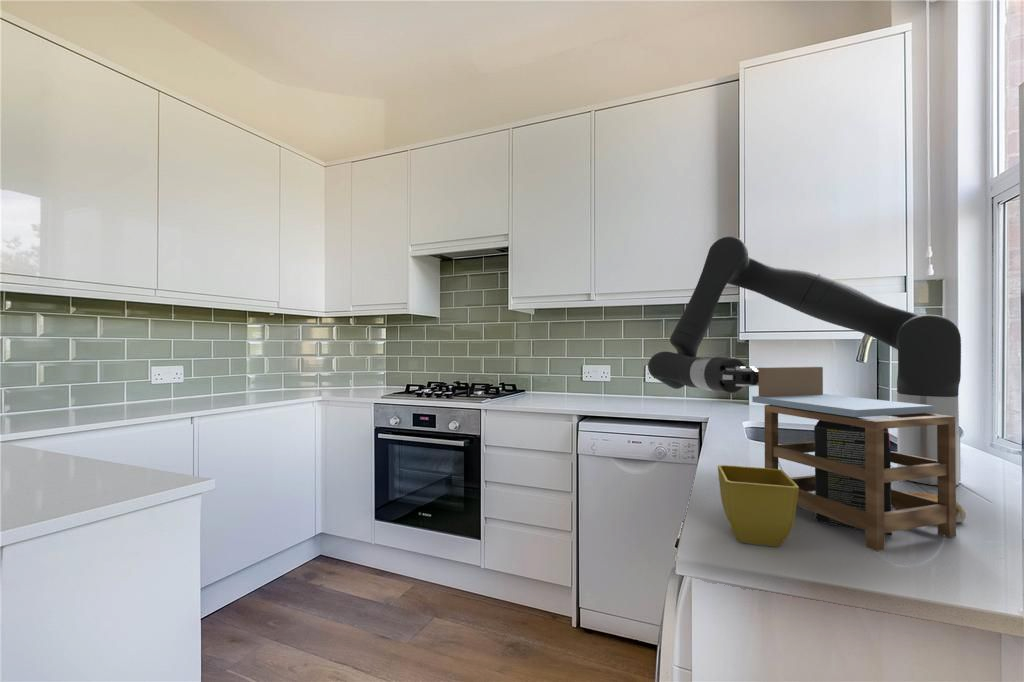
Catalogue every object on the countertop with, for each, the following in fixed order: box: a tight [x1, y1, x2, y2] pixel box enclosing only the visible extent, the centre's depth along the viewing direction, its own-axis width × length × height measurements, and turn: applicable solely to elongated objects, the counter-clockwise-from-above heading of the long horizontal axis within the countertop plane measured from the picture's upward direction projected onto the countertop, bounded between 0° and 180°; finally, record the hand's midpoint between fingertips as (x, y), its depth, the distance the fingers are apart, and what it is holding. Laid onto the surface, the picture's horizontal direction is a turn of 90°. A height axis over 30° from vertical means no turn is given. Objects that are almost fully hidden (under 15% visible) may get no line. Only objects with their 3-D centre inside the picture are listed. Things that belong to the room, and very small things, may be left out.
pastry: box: [898, 491, 967, 524], centre depth 74 cm, size 9×7×4 cm
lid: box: [751, 366, 934, 418], centre depth 74 cm, size 16×18×6 cm
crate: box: [764, 404, 957, 552], centre depth 71 cm, size 16×18×17 cm
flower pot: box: [717, 464, 799, 548], centre depth 64 cm, size 9×9×9 cm
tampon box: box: [813, 420, 893, 537], centre depth 71 cm, size 11×9×15 cm
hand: (787, 379), depth 82 cm, fingers closed
